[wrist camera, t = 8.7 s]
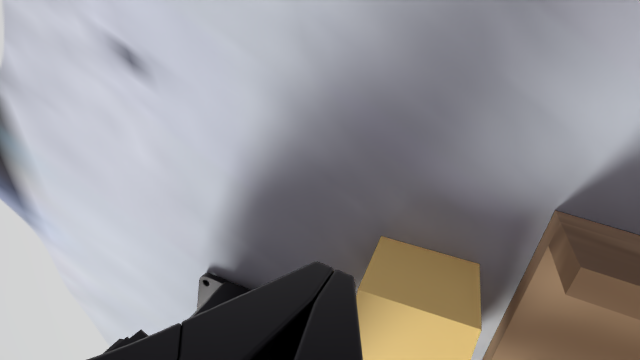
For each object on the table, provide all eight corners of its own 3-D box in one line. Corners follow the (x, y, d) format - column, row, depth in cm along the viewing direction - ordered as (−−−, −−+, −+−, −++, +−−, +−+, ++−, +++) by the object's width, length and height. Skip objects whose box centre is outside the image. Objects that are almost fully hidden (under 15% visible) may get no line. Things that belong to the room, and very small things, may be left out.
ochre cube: (453, 339, 22) (449, 417, 18) (365, 309, 23) (340, 375, 19) (479, 263, 20) (481, 329, 16) (381, 235, 21) (357, 289, 17)
